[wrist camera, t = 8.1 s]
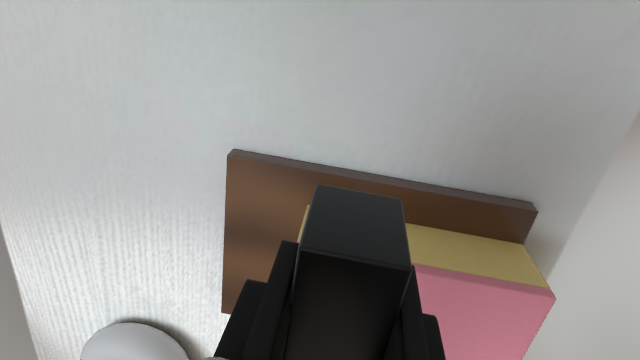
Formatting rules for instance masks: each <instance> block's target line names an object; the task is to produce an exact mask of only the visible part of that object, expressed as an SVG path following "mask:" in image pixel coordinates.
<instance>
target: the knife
mask: <svg viewBox="0 0 640 360" xmlns="http://www.w3.org/2000/svg"><path fill="white" fill-rule="evenodd" d="M412 271H413V270H412V263H411V257H410V250H409V244H408V238H407V231H406V225H405V218H404V212H403V206H402V200H400V199H397V198H392V197H386V196H381V195H375V194H370V193H365V192H359V191H354V190H348V189H343V188H338V187H332V186H327V185H321V184H317V185H316V186H315V189H314V192H313V196H312V200H311V203H310V207H309V210H308V214H307V218H306V221H305V225H304V228H303V232H302V236H301V239H300V243H299V246H298V252H297V258H296V265H295V272H294V278H293V285H292V292H291V298H290V305H289V306H290V308H291V315H290V321H289V328H288V334H287V340H286V347H285V353H284V360H383V357H384V354H385V351H386V348H387V345H388V342H389V339H390V336H391V333H392V330H393V328H394V325H395V322H396V319H397V316H398V313H399V310H400V307H401V304H402V301H403V298H404V295H405V292H406V289H407V286H408V283H409V280H410V277H411V274H412Z"/></svg>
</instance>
